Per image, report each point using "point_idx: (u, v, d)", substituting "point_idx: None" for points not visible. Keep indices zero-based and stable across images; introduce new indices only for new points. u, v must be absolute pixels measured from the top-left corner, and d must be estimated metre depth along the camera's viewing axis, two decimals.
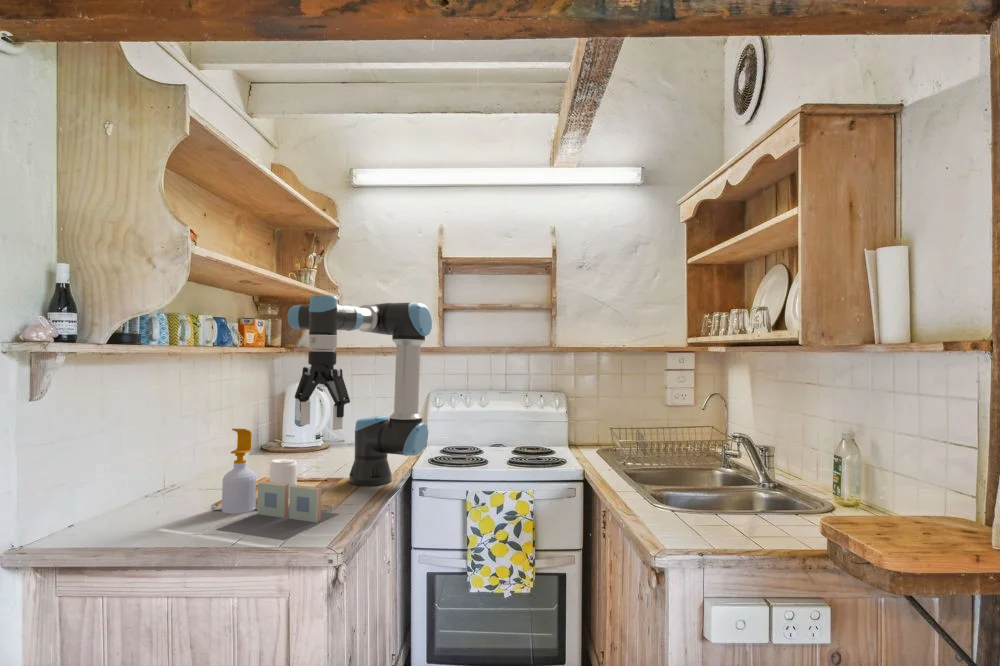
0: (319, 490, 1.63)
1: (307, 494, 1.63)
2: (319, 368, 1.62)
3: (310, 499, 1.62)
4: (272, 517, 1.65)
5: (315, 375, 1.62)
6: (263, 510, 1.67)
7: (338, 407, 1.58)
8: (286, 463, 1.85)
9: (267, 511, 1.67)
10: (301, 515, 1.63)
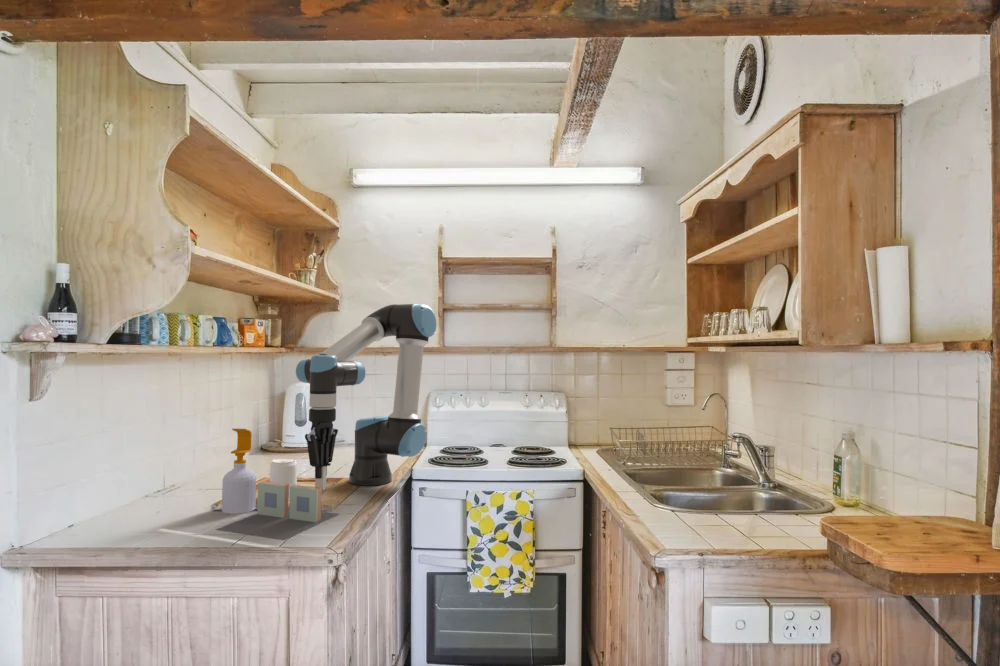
0: (319, 490, 1.63)
1: (307, 494, 1.63)
2: None
3: (310, 499, 1.62)
4: (272, 517, 1.65)
5: None
6: (263, 510, 1.67)
7: None
8: (286, 463, 1.85)
9: (267, 511, 1.67)
10: (301, 515, 1.63)
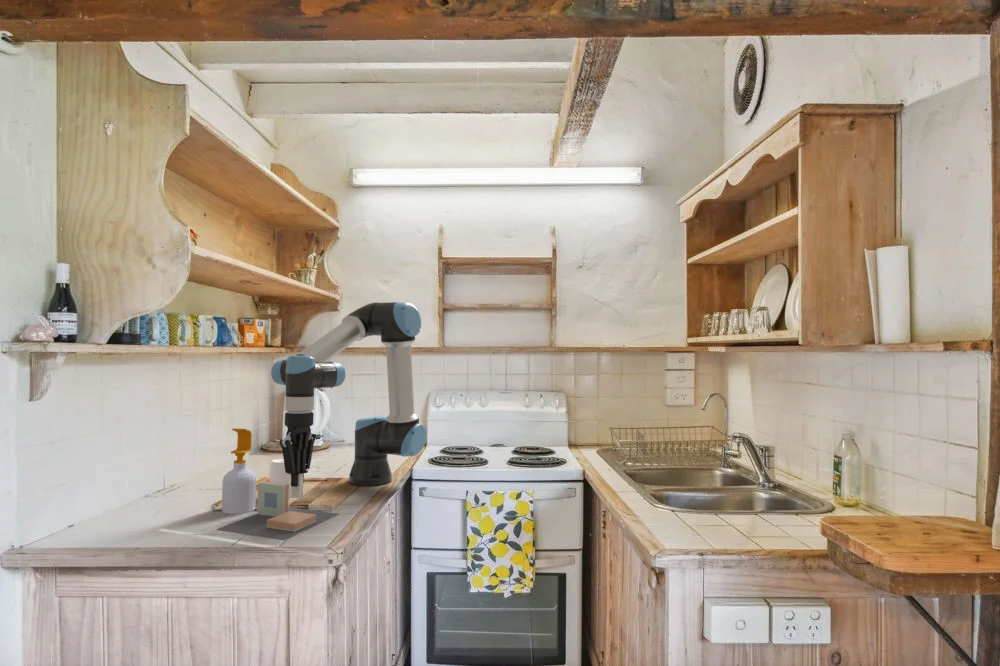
0: (296, 526, 1.53)
1: None
2: None
3: None
4: (272, 517, 1.65)
5: None
6: (263, 510, 1.67)
7: None
8: None
9: (267, 511, 1.67)
10: None
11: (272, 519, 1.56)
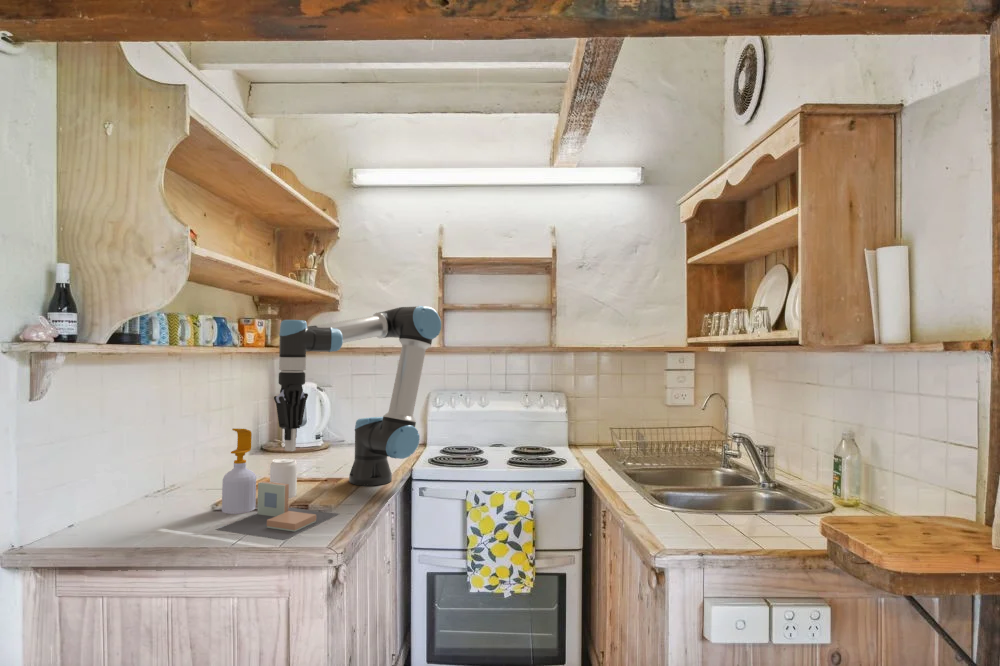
0: (296, 526, 1.53)
1: None
2: None
3: None
4: (272, 517, 1.65)
5: None
6: (263, 510, 1.67)
7: None
8: (286, 463, 1.85)
9: (267, 511, 1.67)
10: None
11: (272, 519, 1.56)
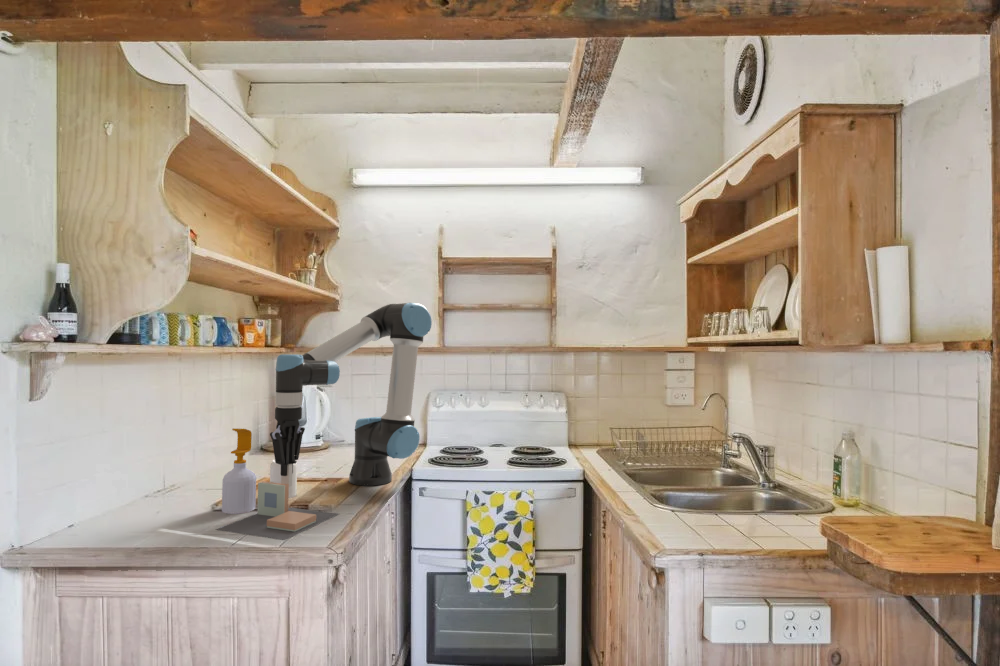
0: (296, 526, 1.53)
1: None
2: None
3: None
4: (272, 517, 1.65)
5: None
6: (263, 510, 1.67)
7: None
8: None
9: (267, 511, 1.67)
10: None
11: (272, 519, 1.56)
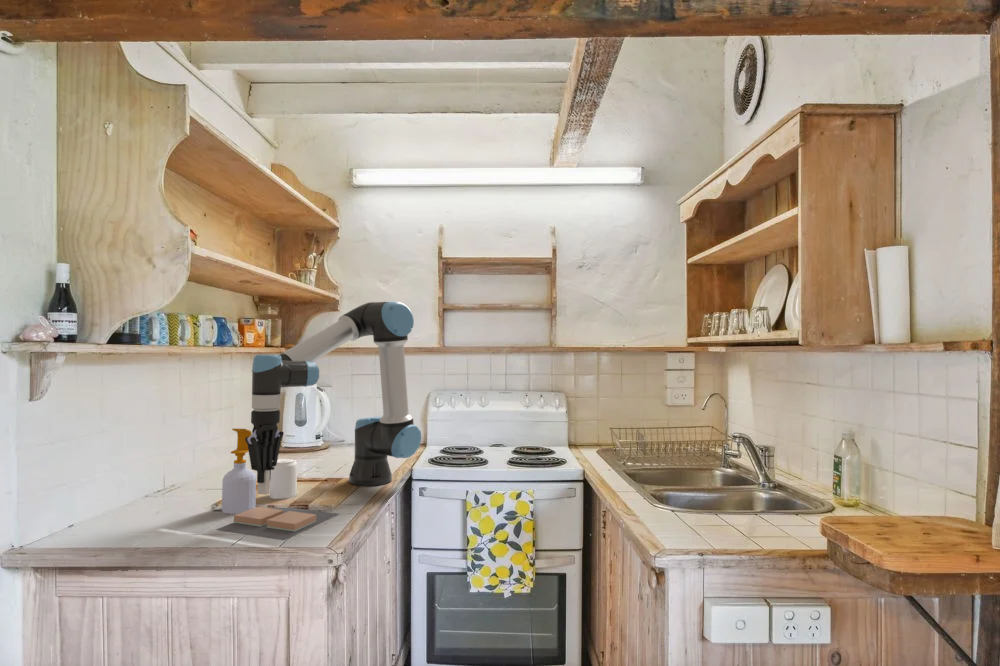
0: (296, 526, 1.53)
1: None
2: None
3: None
4: None
5: None
6: None
7: None
8: (286, 463, 1.85)
9: None
10: None
11: (272, 519, 1.56)
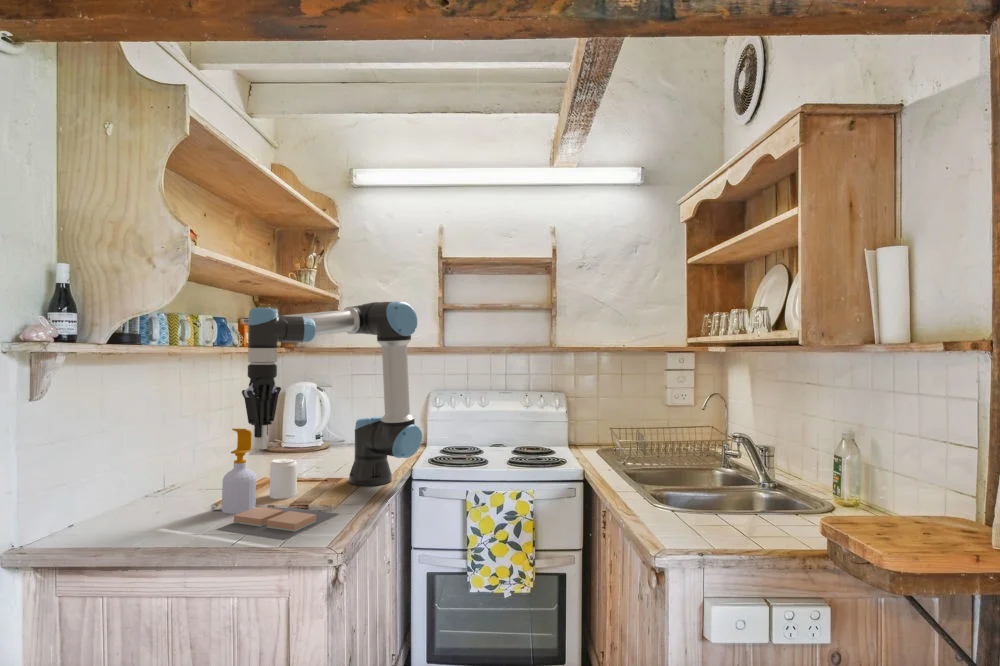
0: (296, 526, 1.53)
1: None
2: None
3: None
4: None
5: None
6: None
7: None
8: (286, 463, 1.85)
9: None
10: None
11: (272, 519, 1.56)
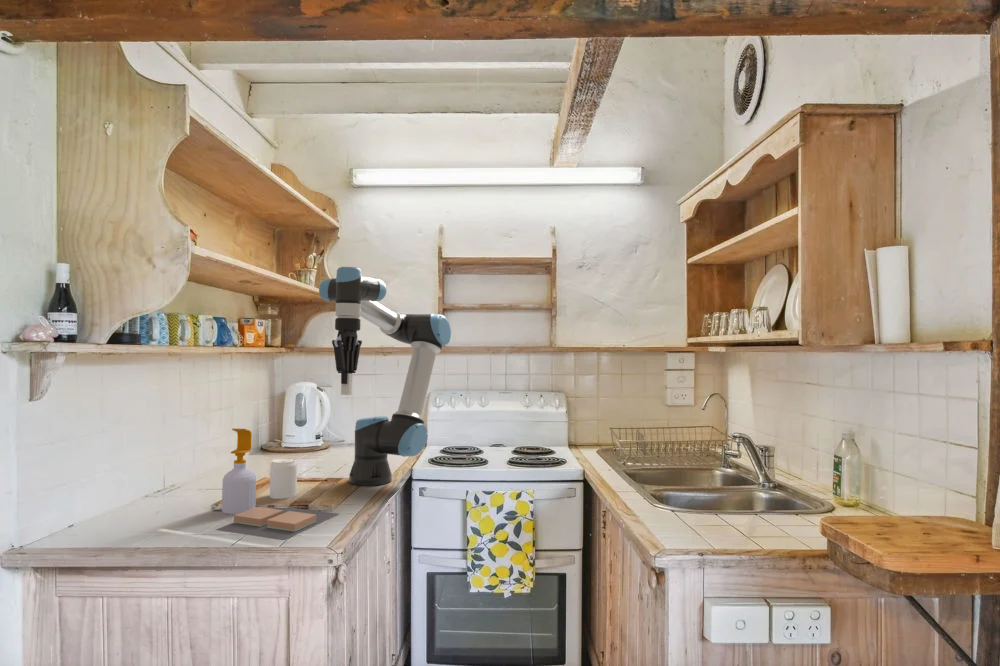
0: (296, 526, 1.53)
1: None
2: None
3: None
4: None
5: None
6: None
7: None
8: (286, 463, 1.85)
9: None
10: None
11: (272, 519, 1.56)
